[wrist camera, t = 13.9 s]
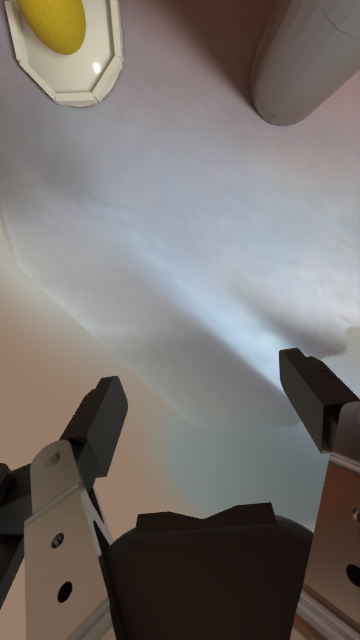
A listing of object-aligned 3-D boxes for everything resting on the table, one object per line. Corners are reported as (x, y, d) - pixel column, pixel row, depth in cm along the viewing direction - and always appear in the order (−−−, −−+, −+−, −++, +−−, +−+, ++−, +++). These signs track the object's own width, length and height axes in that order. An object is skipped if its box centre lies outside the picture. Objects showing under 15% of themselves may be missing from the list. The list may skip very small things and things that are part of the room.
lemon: (38, 46, 25) (-22, -26, 18) (58, -16, 23) (0, -125, 16) (83, 84, 26) (44, 31, 19) (106, 28, 24) (72, -54, 17)
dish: (56, -75, 22) (45, -99, 21) (144, 39, 25) (141, 26, 24) (1, 44, 26) (-12, 32, 24) (85, 132, 29) (79, 126, 27)
